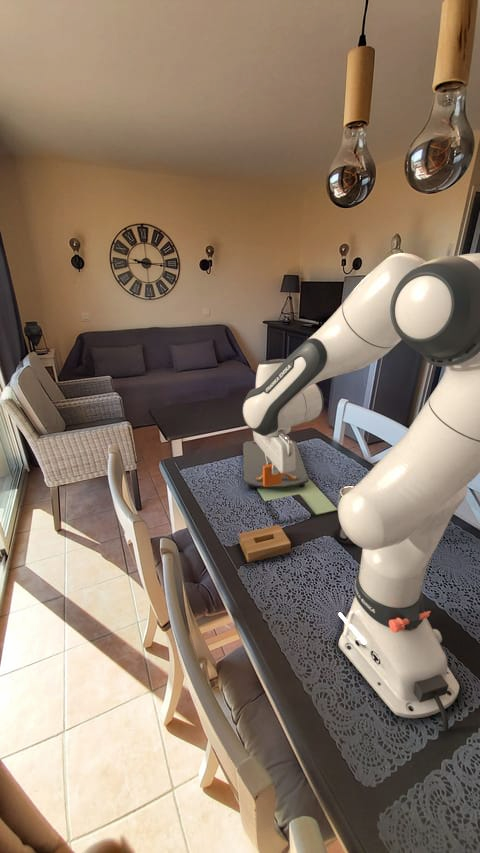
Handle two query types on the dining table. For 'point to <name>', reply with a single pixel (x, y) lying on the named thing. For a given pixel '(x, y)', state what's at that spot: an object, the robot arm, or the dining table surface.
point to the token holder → (264, 543)
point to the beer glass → (340, 533)
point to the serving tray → (256, 461)
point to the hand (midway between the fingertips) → (272, 470)
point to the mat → (308, 493)
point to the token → (270, 477)
